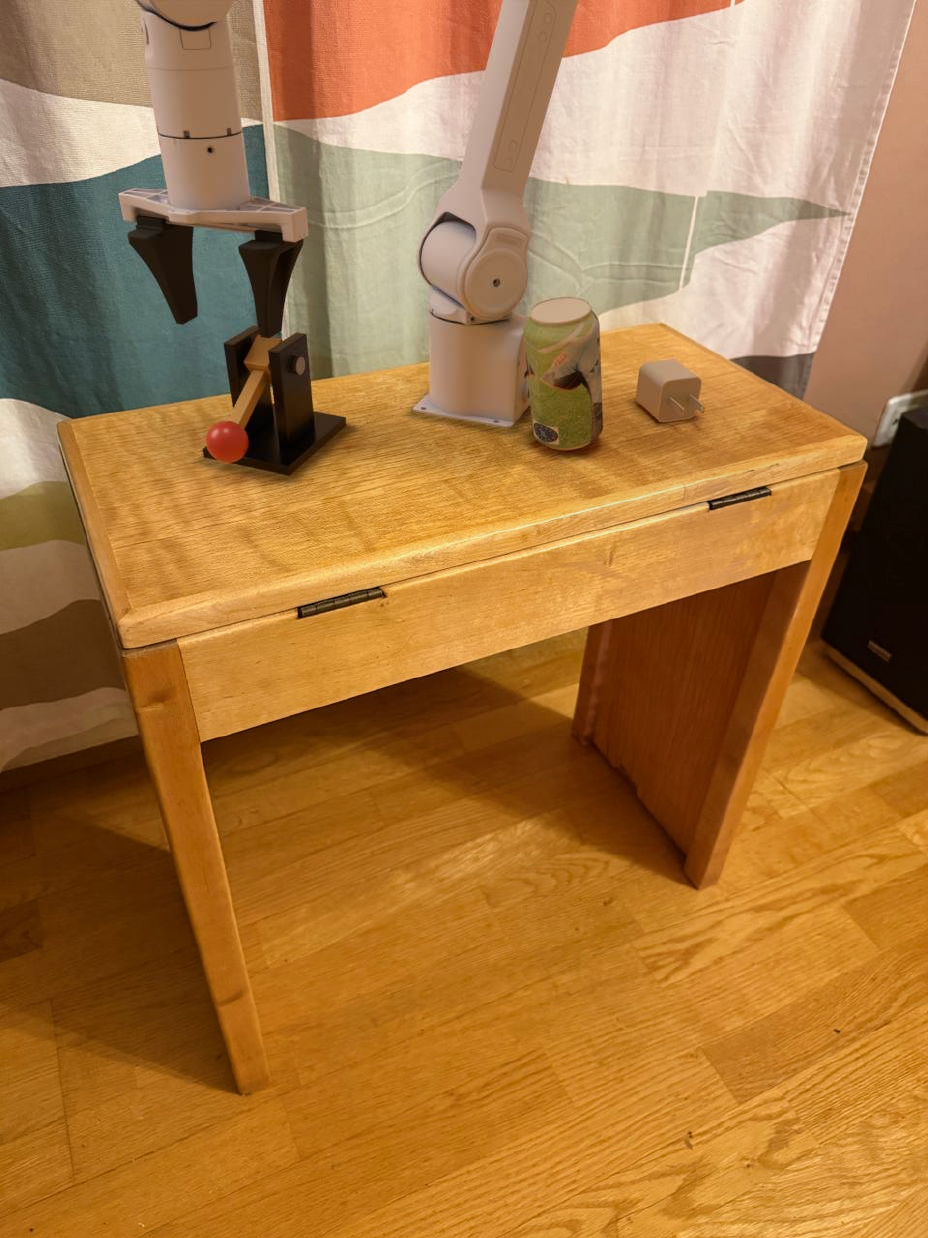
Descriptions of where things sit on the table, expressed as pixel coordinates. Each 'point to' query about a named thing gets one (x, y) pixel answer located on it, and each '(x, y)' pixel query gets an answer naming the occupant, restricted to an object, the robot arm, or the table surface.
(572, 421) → the beverage can
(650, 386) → the usb wall charger
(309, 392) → the switch bracket
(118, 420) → the table surface
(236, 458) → the switch lever
